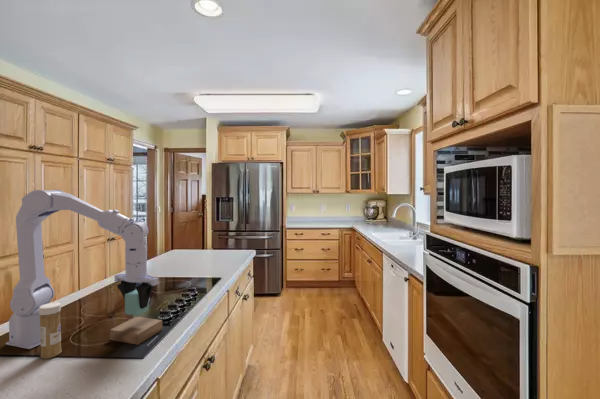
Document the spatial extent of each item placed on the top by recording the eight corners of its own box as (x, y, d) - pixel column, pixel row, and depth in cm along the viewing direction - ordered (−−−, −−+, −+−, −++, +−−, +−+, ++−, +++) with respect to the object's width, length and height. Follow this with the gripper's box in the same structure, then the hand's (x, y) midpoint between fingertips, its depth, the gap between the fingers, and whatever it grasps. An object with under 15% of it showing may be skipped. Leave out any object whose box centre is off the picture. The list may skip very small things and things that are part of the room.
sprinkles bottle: (61, 356, 84) (59, 305, 84) (38, 361, 82) (37, 309, 81) (62, 348, 88) (61, 300, 88) (41, 353, 86) (39, 303, 85)
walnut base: (110, 339, 93) (109, 329, 93) (136, 325, 103) (136, 316, 103) (138, 344, 90) (137, 334, 90) (162, 329, 100) (162, 320, 100)
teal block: (125, 313, 95) (124, 294, 95) (136, 308, 99) (136, 289, 99) (137, 315, 94) (137, 295, 93) (148, 310, 98) (148, 290, 98)
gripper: (165, 260, 98) (166, 304, 98) (127, 257, 102) (127, 299, 102) (148, 266, 91) (149, 313, 91) (108, 262, 95) (109, 307, 95)
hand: (136, 306), depth 96 cm, fingers closed on teal block, 4 cm apart
